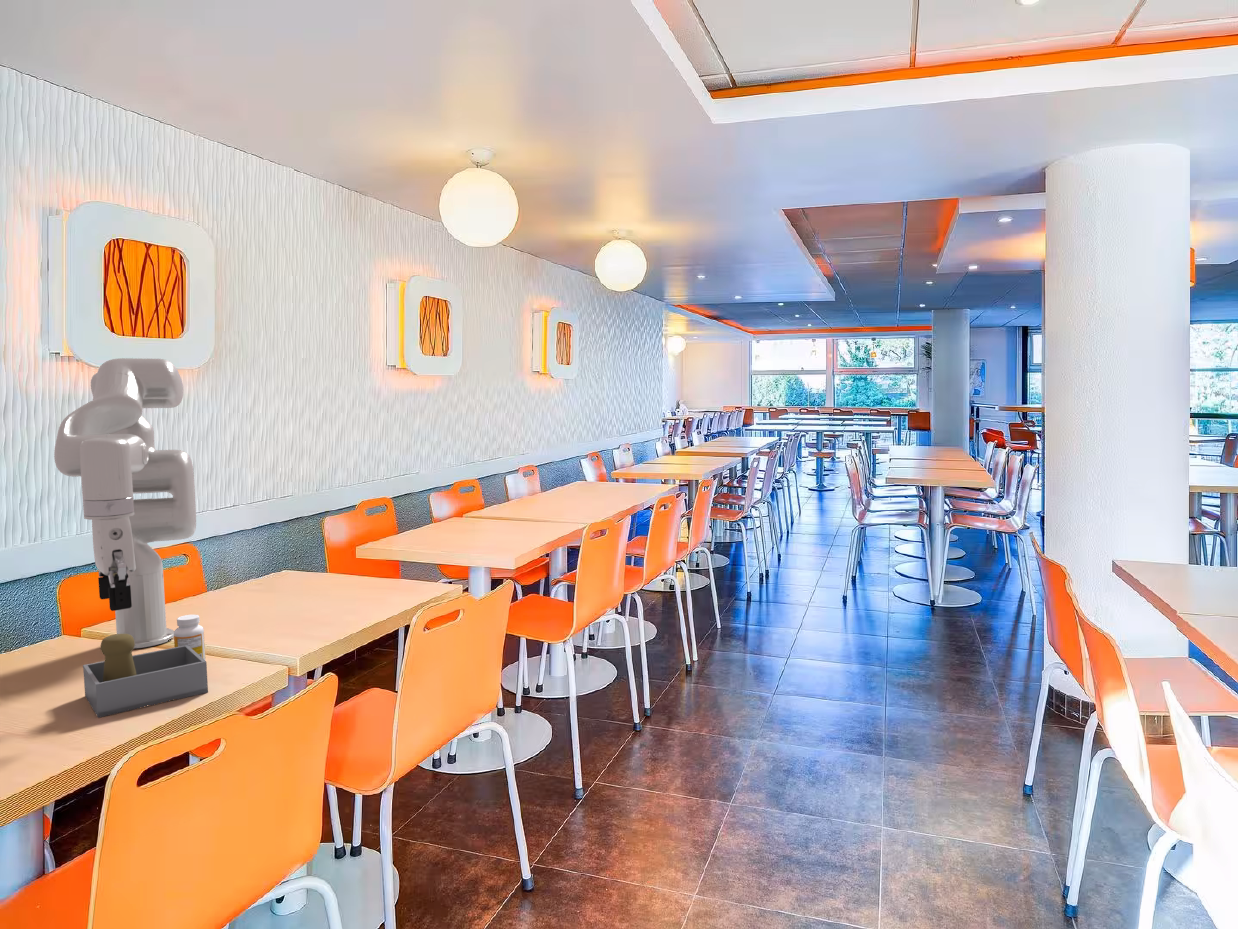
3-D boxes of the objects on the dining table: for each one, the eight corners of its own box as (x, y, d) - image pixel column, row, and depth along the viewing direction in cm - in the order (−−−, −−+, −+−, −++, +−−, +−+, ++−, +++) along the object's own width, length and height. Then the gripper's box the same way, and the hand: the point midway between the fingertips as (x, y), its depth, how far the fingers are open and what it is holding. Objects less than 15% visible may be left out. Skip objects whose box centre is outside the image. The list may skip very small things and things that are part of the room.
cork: (92, 700, 143) (88, 639, 142) (120, 688, 148) (116, 629, 147) (122, 702, 141) (117, 641, 140) (148, 690, 147) (144, 631, 146)
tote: (85, 696, 147) (82, 665, 146) (189, 673, 158) (187, 645, 157) (98, 717, 137) (95, 684, 136) (208, 692, 148) (206, 661, 148)
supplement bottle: (182, 660, 166) (180, 613, 166) (210, 659, 167) (207, 613, 166) (170, 669, 161) (167, 621, 160) (198, 667, 162) (196, 620, 161)
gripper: (144, 511, 138) (150, 609, 139) (123, 500, 151) (129, 590, 152) (92, 516, 133) (99, 618, 135) (75, 504, 146) (82, 597, 147)
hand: (115, 603), depth 143 cm, fingers open, 9 cm apart
